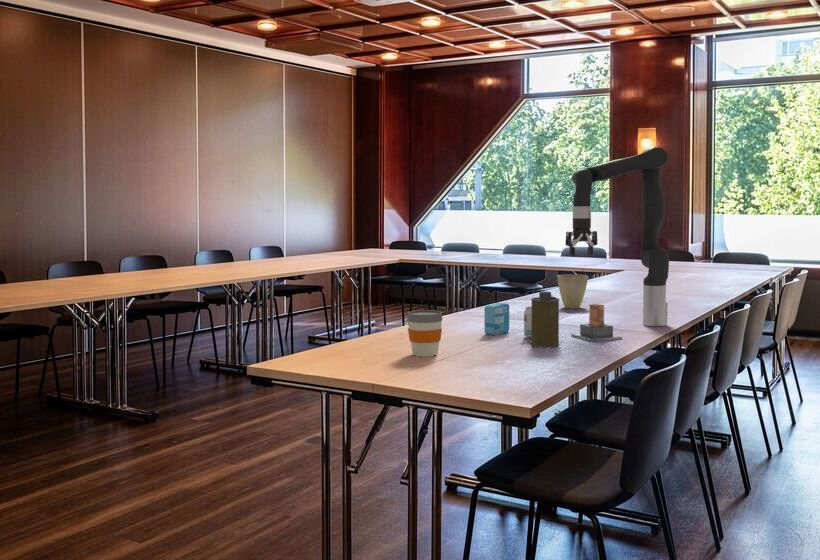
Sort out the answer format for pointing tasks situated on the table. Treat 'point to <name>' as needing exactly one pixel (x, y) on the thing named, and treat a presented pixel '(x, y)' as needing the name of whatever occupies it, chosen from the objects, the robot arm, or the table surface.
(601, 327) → the socket plate
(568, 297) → the plant pot
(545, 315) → the canister
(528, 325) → the beverage can
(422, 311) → the reusable coffee cup
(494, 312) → the data package
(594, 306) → the terracotta peg
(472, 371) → the table surface
